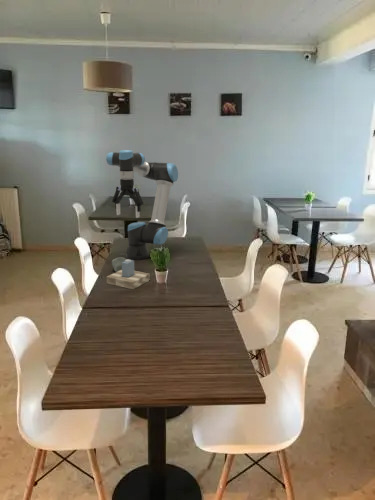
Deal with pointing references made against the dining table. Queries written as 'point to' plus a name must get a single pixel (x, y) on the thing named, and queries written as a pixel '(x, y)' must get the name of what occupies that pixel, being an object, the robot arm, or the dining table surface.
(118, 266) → the decorative stone
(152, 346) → the dining table surface
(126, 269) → the keyed peg
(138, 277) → the hub block
